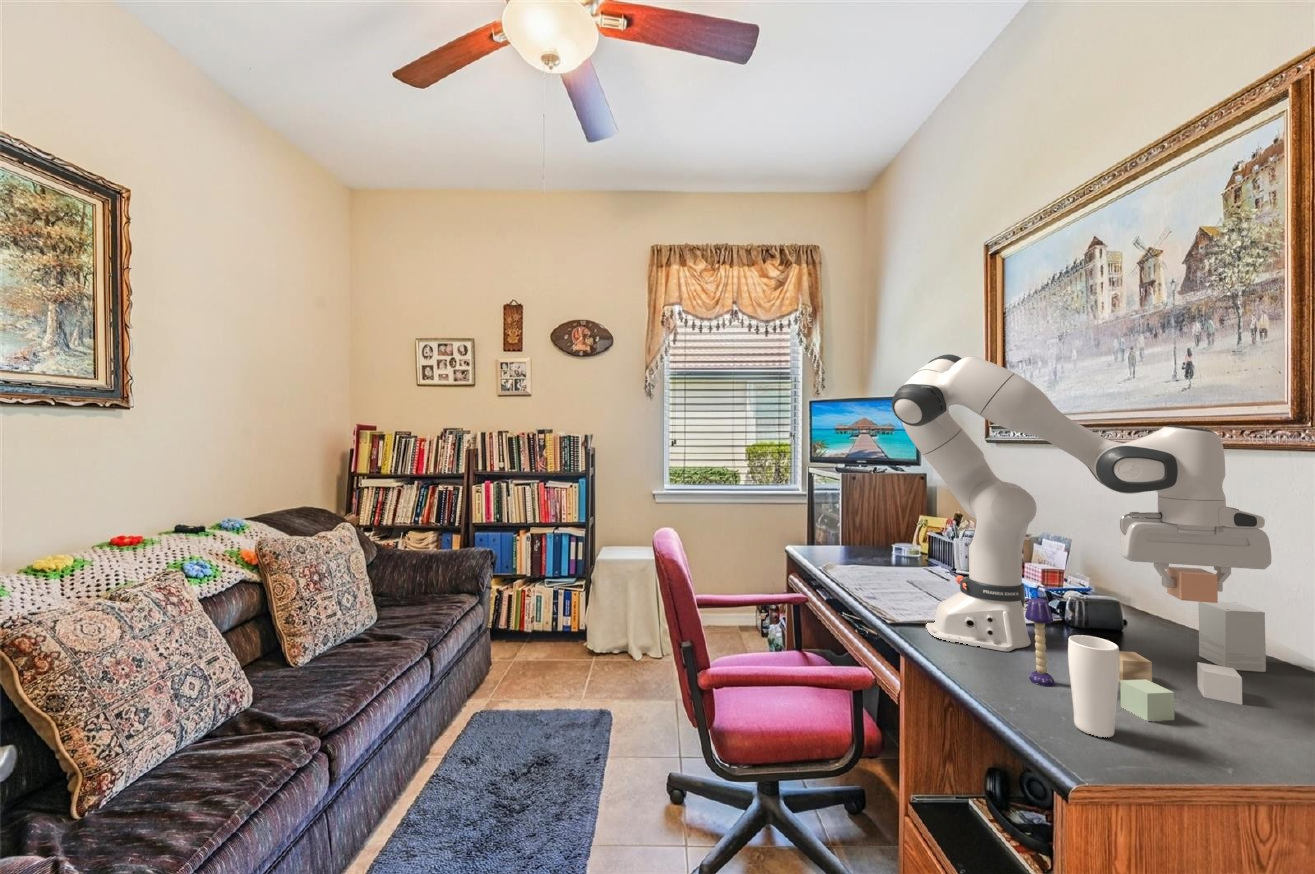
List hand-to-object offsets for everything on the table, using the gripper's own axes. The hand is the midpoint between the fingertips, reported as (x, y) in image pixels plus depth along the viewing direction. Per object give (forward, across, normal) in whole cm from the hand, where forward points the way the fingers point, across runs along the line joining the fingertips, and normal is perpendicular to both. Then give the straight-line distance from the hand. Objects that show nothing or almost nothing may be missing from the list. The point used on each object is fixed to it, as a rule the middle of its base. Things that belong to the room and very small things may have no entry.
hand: (1191, 589), depth 97 cm
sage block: (+22, -9, -6) cm, 24 cm away
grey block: (+22, +7, +7) cm, 24 cm away
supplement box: (+22, +18, +26) cm, 38 cm away
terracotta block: (+2, 0, 0) cm, 2 cm away
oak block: (+22, -6, +9) cm, 24 cm away
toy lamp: (+22, -23, +2) cm, 32 cm away
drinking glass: (+22, -20, -16) cm, 34 cm away
